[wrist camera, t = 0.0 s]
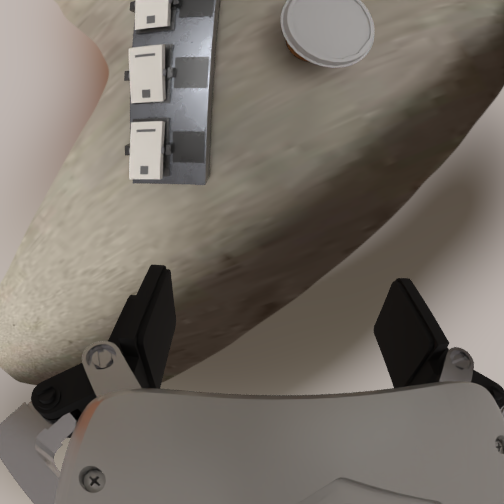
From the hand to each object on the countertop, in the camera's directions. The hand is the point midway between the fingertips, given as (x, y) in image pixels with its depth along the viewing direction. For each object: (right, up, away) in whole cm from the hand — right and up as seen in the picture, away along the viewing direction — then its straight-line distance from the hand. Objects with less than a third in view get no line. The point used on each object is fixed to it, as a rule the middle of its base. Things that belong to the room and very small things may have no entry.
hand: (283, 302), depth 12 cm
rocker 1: (-13, +30, +11) cm, 35 cm away
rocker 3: (-14, +14, +21) cm, 29 cm away
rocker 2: (-13, +22, +16) cm, 30 cm away
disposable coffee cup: (+6, +30, +19) cm, 36 cm away
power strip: (-11, +28, +20) cm, 36 cm away
